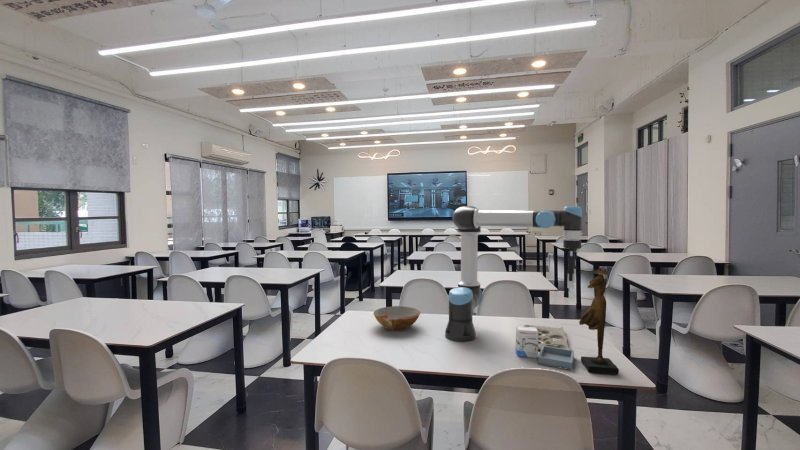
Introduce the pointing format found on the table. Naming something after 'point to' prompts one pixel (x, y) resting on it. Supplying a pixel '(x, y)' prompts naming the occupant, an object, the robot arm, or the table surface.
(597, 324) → the sculpture
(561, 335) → the stone relief
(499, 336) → the table surface
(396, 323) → the bowl
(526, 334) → the ink box
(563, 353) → the tray
